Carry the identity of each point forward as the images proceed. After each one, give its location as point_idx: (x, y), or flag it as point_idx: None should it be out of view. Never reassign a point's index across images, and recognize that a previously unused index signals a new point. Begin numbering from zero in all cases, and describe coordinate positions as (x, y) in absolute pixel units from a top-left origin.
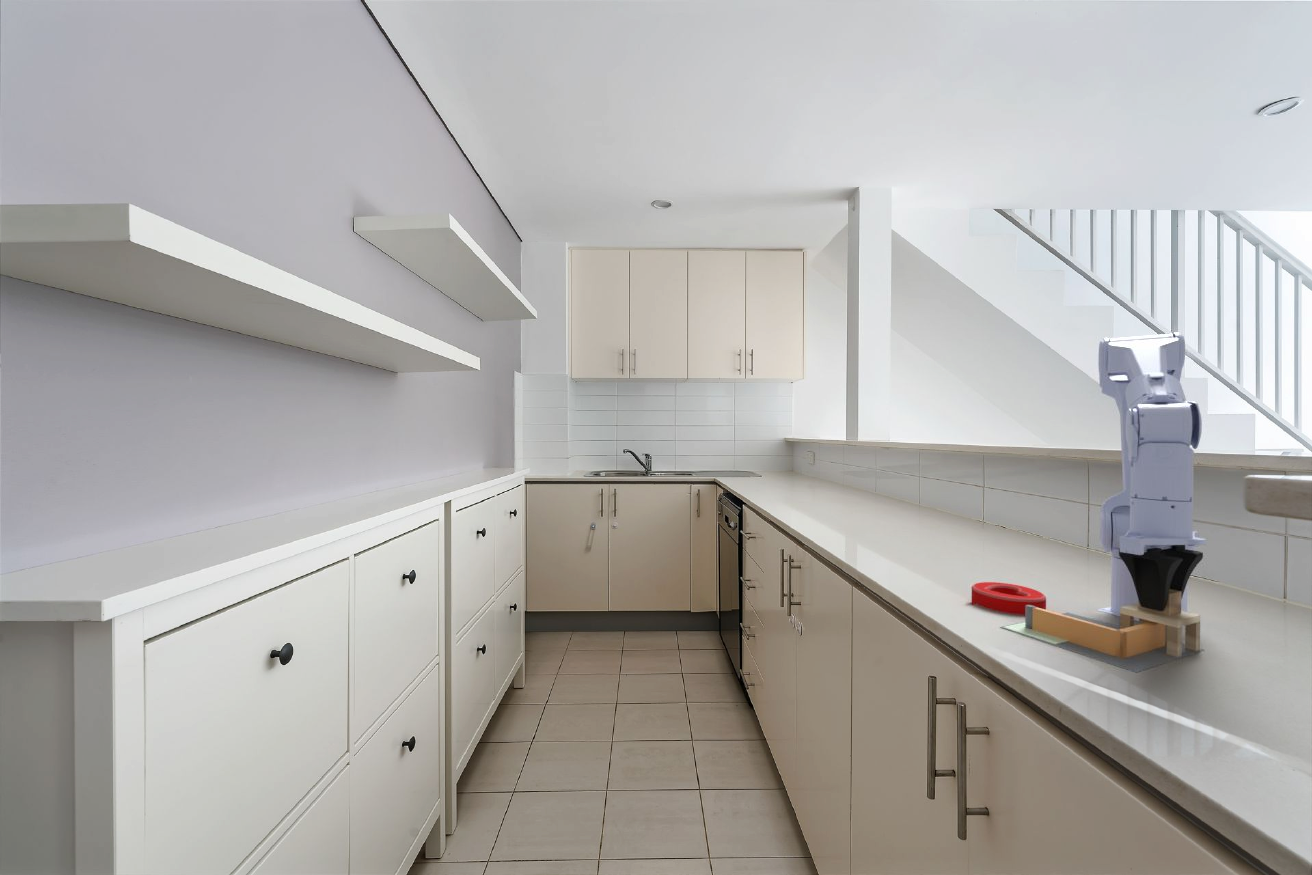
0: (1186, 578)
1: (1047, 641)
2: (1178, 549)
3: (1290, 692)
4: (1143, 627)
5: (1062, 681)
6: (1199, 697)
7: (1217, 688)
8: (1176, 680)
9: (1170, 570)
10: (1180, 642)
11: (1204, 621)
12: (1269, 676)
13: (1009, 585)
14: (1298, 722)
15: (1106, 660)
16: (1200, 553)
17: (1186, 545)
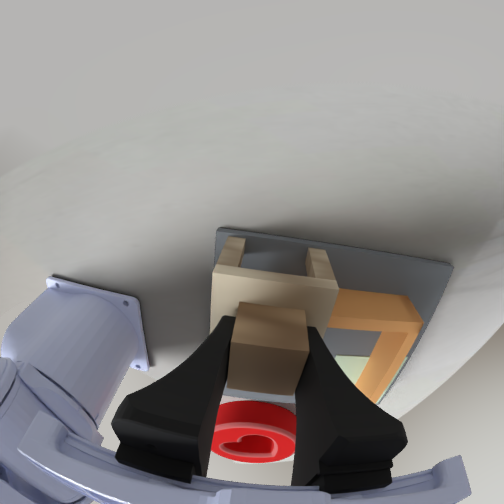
0: (204, 365)
1: (402, 364)
2: (174, 462)
3: (325, 96)
4: (357, 318)
5: (499, 302)
6: (465, 194)
7: (412, 180)
8: (422, 227)
9: (370, 408)
10: (317, 260)
11: (36, 268)
12: (253, 130)
13: (220, 449)
14: (456, 96)
15: (430, 304)
16: (153, 426)
17: (76, 436)
